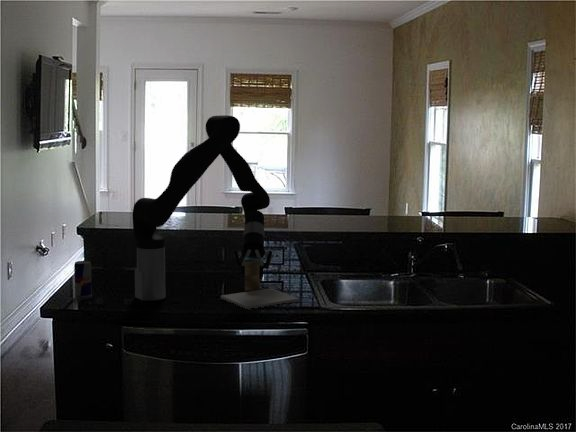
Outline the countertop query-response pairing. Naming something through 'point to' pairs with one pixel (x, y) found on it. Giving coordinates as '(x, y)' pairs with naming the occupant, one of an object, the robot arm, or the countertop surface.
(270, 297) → the cream board
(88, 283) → the energy drink
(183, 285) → the countertop surface
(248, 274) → the brown tall block
